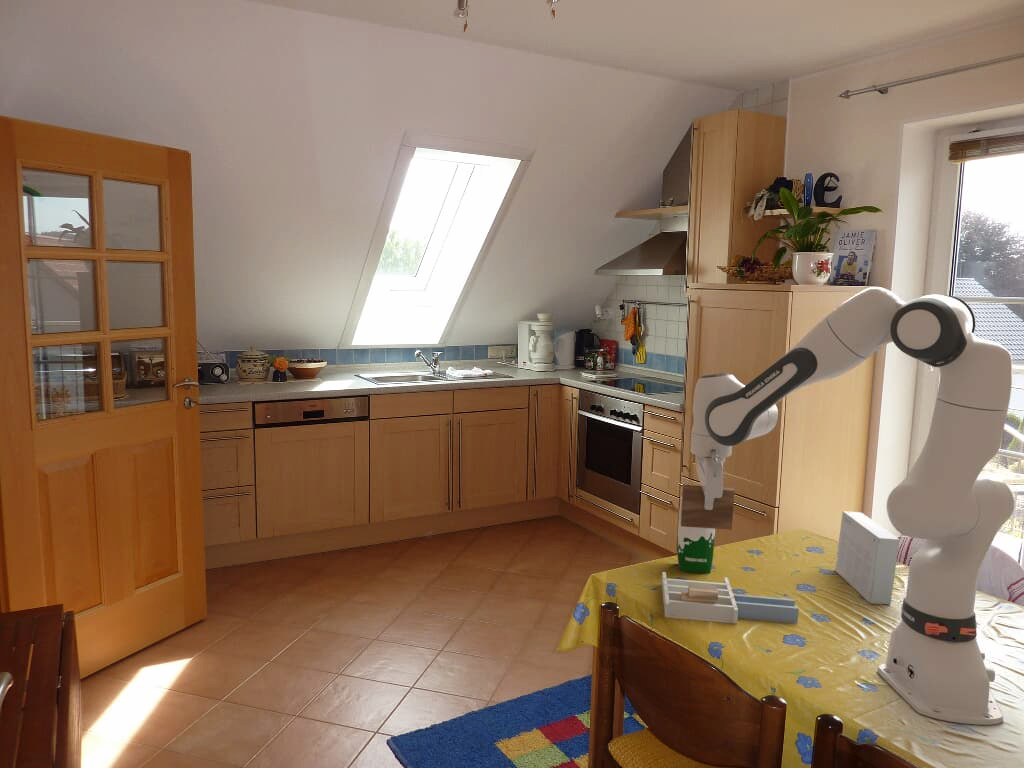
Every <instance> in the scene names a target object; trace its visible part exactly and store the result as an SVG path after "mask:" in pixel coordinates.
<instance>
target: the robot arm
mask: <svg viewBox="0 0 1024 768" xmlns="http://www.w3.org/2000/svg"><path fill="white" fill-rule="evenodd" d="M976 325H977V324H976V317H975V313H974V311H973V310H972V308H971V306H969V304H967V302H965V301H964V300H962V299H960V298H958V297H956V296H952V295H947V294H946V295H945V294H942V295H941V294H929V295H927V294H926V295H923V296H921V297H917V298H914V299H911V300H909V301H907V302H906V301H903V300H901V298H899V297H898V295H896V294H895V293H894V292H892V291H891V290H889V289H886V288H885V287H884V288H883V287H882V286H881V287H880V286H871V287H868V288H866V289H864V290H862V291H860V292H859V293H856V294H855V295H853V296H852V297H850V298H848V299H847V300H846V301H844V302H843V303H841V304H840V305H838V306H837V307H836V308H835V309H833V310H832V311H831V312H830V313H829V314H827V315H826V316H825V317H824V318H822V319H821V320H820V321H819V322H818V323H817V324H815V325H814V327H812V329H810V331H808V332H807V334H805V336H803V337H802V338H801V339H800V340H799V341H798V342H797V343H796V344H795V345H794V346H793V347H792V348H791V349H790V350H788V351H787V352H786V353H785V354H784V355H783V356H781V358H779V359H778V360H777V361H776V362H775V363H774V364H772V365H770V366H769V367H768V368H766V370H764V371H763V372H762V373H760V374H759V375H758V376H756V377H755V378H754V379H752V380H751V381H750V382H748V383H747V384H746V385H745V384H743V383H741V382H740V381H739V380H738V379H737V378H736V376H734V374H731V373H728V372H727V373H725V372H722V373H714V374H705V375H702V376H701V377H699V378H698V380H697V382H696V383H695V387H694V391H693V392H694V393H693V402H692V415H693V424H692V427H691V432H690V433H691V434H690V435H691V436H690V449H689V450H690V453H691V454H693V455H695V468H696V475H697V478H698V481H699V483H700V486H701V487H702V489H703V492H704V495H705V500H704V508H705V509H706V510H712V509H713V502H714V498H721V497H722V492H723V487H724V463H725V462H726V458H729V457H731V456H732V454H733V453H732V451H733V450H732V449H733V446H736V445H739V444H741V443H744V442H745V441H749V440H752V439H756V438H759V437H763V436H766V435H767V434H769V433H771V432H772V431H773V430H774V429H775V427H776V426H777V425H778V421H779V419H780V418H779V417H780V415H779V414H780V412H779V409H778V406H777V404H778V403H779V402H780V401H782V400H783V399H784V398H786V397H788V396H789V395H790V394H791V393H793V392H795V391H796V390H799V389H802V388H803V387H806V386H809V385H813V384H815V383H819V382H820V383H821V382H823V381H827V380H831V379H834V378H837V377H840V376H841V375H843V374H845V373H847V372H849V371H851V370H852V369H853V370H854V368H856V367H857V366H859V365H861V364H862V363H863V362H865V361H866V360H867V359H869V358H870V357H871V356H873V355H874V354H875V353H876V352H878V351H879V350H881V348H883V347H885V346H886V345H888V344H891V343H894V346H896V347H897V349H899V350H900V351H901V352H903V353H904V354H905V355H907V356H909V357H910V358H911V357H912V358H913V359H916V360H918V361H920V362H922V363H925V364H926V365H929V366H930V367H934V368H939V375H940V376H939V383H938V389H937V393H936V399H935V402H934V403H935V404H934V408H933V413H932V418H931V422H930V427H929V432H928V434H927V437H926V441H925V443H924V446H922V447H923V448H922V450H921V452H920V454H919V456H918V458H917V459H916V461H915V463H914V465H913V466H912V467H911V469H910V471H909V472H908V474H907V476H906V477H904V479H903V480H902V481H901V482H900V483H899V484H898V485H897V486H895V487H894V488H893V489H892V490H891V491H890V493H889V494H888V497H887V499H886V500H887V501H886V513H887V516H888V519H889V522H890V524H891V525H892V526H893V528H894V529H895V530H896V531H897V532H899V533H900V534H902V535H903V536H904V537H907V538H912V539H913V538H914V539H919V540H925V541H924V542H923V544H922V546H921V547H920V548H919V549H918V550H917V551H916V552H915V553H914V555H913V556H912V557H911V559H910V562H909V567H908V576H907V586H906V595H905V597H904V598H903V601H902V604H901V609H900V610H901V613H900V617H901V621H900V622H899V624H898V625H897V626H896V627H895V628H894V629H893V630H892V631H891V633H890V639H889V645H888V650H887V653H886V654H887V656H886V661H885V663H881V664H879V665H878V666H877V673H878V674H879V676H880V677H882V679H884V681H886V682H887V684H888V685H890V686H891V687H892V688H893V690H894V691H896V692H897V693H898V695H900V697H901V698H903V700H905V702H906V703H907V704H909V705H910V706H911V708H913V710H915V711H916V713H918V714H921V715H923V716H925V717H929V718H933V719H936V720H940V721H944V722H945V721H946V722H951V723H957V724H967V725H978V726H980V725H981V726H983V725H984V726H987V725H988V726H989V725H998V724H1001V723H1003V722H1004V716H1003V713H1002V711H1001V709H1000V707H999V704H998V703H997V700H996V698H995V696H994V694H993V692H992V690H991V688H990V685H991V684H990V683H993V682H995V681H996V680H995V679H996V672H995V669H994V668H991V667H986V665H985V662H984V661H985V659H986V654H985V653H986V652H984V651H981V649H980V646H979V643H978V640H977V638H976V637H977V627H978V626H977V625H978V624H977V619H976V618H977V617H976V613H975V605H976V604H975V602H976V595H977V589H978V584H979V583H978V581H979V577H980V573H981V569H982V567H983V564H984V561H985V559H986V556H987V554H988V552H989V550H990V548H991V545H992V543H993V542H994V539H995V537H996V536H997V534H998V532H999V530H1000V529H1001V528H1002V527H1003V525H1004V524H1006V522H1007V521H1009V520H1010V518H1011V517H1012V515H1013V513H1014V510H1015V498H1014V495H1013V493H1012V490H1011V489H1010V487H1009V486H1008V485H1007V483H1005V482H1004V481H1003V480H1001V479H1000V478H999V477H996V476H994V475H991V474H984V473H982V471H983V470H984V468H985V466H987V464H988V463H989V462H990V461H991V460H992V459H994V458H995V457H996V455H997V454H998V452H999V450H1000V448H1001V443H1002V438H1003V433H1004V428H1005V424H1006V419H1007V417H1008V411H1009V405H1010V401H1011V396H1012V395H1011V394H1012V385H1013V357H1012V354H1011V353H1010V351H1009V350H1008V349H1007V348H1006V347H1004V345H1002V344H999V343H998V342H995V341H994V340H993V341H992V340H989V339H981V338H980V337H978V336H976V335H974V333H975V330H976Z"/></svg>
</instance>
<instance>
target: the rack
mask: <svg viewBox="0 0 1024 768" xmlns="http://www.w3.org/2000/svg"><path fill="white" fill-rule="evenodd" d="M661 573H662V574H661V592H662V602H663V611H664V617H665V618H673V619H683V620H692V621H694V620H695V621H705V622H714V623H715V622H716V623H726V624H738V619H739V618H738V608H737V605H736V602H735V599H734V595H733V594H734V593H733V590H732V587H731V583H730V581H729V578H728V577H726V576H725V577H723V583H722V582H714V581H713V582H712V581H701V580H700V581H699V580H689V579H678V578H667V572H666V571H661ZM688 585H697V586H708V587H717V590H718V601H715V603H718V604H708V603H697V602H686V601H680V600H681V592H687V593H688Z"/></svg>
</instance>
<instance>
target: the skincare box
mask: <svg viewBox="0 0 1024 768" xmlns="http://www.w3.org/2000/svg"><path fill="white" fill-rule="evenodd" d="M841 515H842V516H841V521H840V522H841V523H840V531H839V536H838V538H839V539H838V543H837V552H836V558H835V559H836V560H835V567H834V571H835V572H837V574H839V576H841V578H843V579H844V581H845V582H847V583H848V584H849V585H850V586H851V587H852V588H853V589H854V590H855V591H857V593H858V594H859V595H861V596H862V597H863V599H865V600H866V601H867V602H868V603H869V604H876V605H891V604H892V596H893V589H894V581H895V574H896V569H897V568H896V567H897V561H898V560H897V559H898V552H899V546H900V538H899V537H897V536H895V535H894V534H893V533H891V532H890V531H889V530H887V529H885V528H884V526H883V527H882V526H881V525H880V524H878V523H877V522H875V521H874V520H873V519H871V517H869V516H867V515H866V514H864V513H863V512H859V511H845V510H842V514H841Z"/></svg>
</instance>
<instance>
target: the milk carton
mask: <svg viewBox="0 0 1024 768" xmlns="http://www.w3.org/2000/svg"><path fill="white" fill-rule="evenodd" d="M679 505H680V506H679V509H678V511H679V512H678V526H677V527H678V528H677V538H676V539H677V542H676V543H677V544H676V554H677V555H676V556H677V565H678V566H679V570H680V572H682V573H694V574H711V571H712V565H713V560H714V553H715V552H714V548H715V535H716V529H712V528H698V527H683V526H681V507H682V496H681V497H680V504H679Z"/></svg>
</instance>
